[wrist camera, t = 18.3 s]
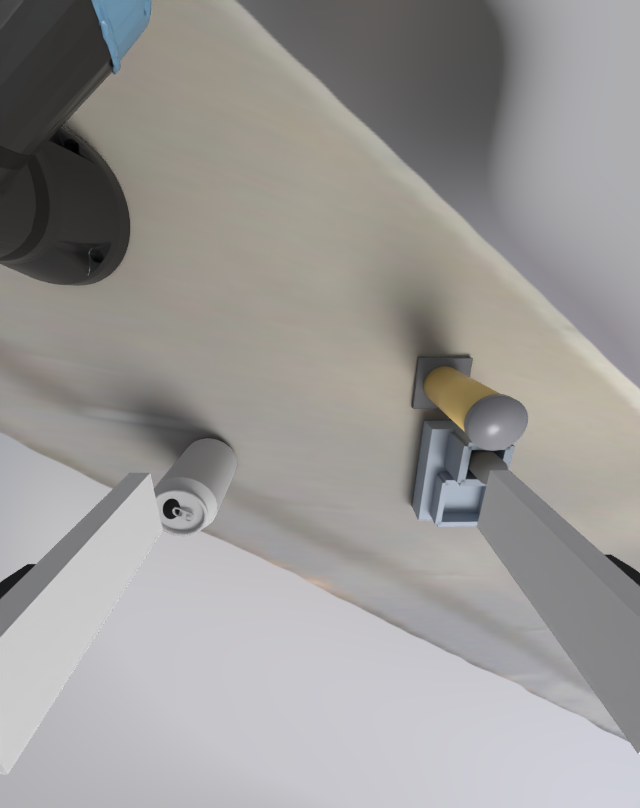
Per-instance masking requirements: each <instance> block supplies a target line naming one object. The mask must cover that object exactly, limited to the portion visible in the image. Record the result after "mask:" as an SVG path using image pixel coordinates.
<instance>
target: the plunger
mask: <svg viewBox="0 0 640 808" xmlns="http://www.w3.org/2000/svg"><path fill="white" fill-rule="evenodd" d="M468 469H469V470H470V471H471V472H472V473H473V474H474V475H475V476H476V478H477V479H478V480H479V481H480V482H481V483H483V484H485V485H487V482H488V477H489V473H490V470H508V466H507V464H506V463H505V462H504V461H503V460H502V459H501V458H499V457H498V456H497V455H496V454H495V453H494V452H493V451H490V450H471V455H470V460H469V465H468Z"/></svg>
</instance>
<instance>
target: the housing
mask: <svg viewBox="0 0 640 808" xmlns="http://www.w3.org/2000/svg"><path fill="white" fill-rule="evenodd" d="M514 447H515V446H514V445H510V446H508V447H506V448H504V449H501V450H495V451H493V452H494V453H495V454H496V455H497V456H498V457H499V458H501V459H502V460H503V461H504V462H505V463H506V464H507V466H508V470H509V466H510V462H511V458H512V454H513V451H514ZM471 450H484V449H481V448H479V447H478V446H476V445H475V444H474V443H473V442H472V441H471V440H470V439H469V438H468V437H467V435H466V433H465V432H464V431H463V430H462V429H461V428H460V427H459V426H458V425H457V424H456V423H455V422H454V421H453V420H424V426H423V433H422V440H421V447H420V455H419V462H418V469H417V476H416V483H415V490H414V497H413V505H412V508H413V510H414V512H415V514H416V516H417V518H418V520H433V521H434V523H435V524H436V525H437V527H451V526H477V523H478V519H479V515H480V511H481V507H482V502H483V498H484V494H485V490H486V486H487V485H485V484H483V483H481V482H480V481H479V480H478V479H477V478H476V476H475V475H474V474H473V473H472V472H471V471H470V470H469V469H468V465H469V460H470V455H471Z"/></svg>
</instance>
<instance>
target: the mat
mask: <svg viewBox="0 0 640 808" xmlns="http://www.w3.org/2000/svg"><path fill="white" fill-rule="evenodd" d="M472 361H473V358H443V357H418V362H417V370H416V378H415V386H414V395H413V403H412V408H413V409H440V408H439V407H437V406H436V405H435V404H434V403H433V402H432V401H431V400H430V399H429V398H428V397H427V396H426V395H425V393H424V389H423V384H424V380H425V378H426V376H427V375H428V374H429V373H430V372H431V371H432V370H434V369H435V368H438V367H441V366H448V367H452V368H454V369H456V370H457V371H459V372H461V373H463V374H465V375H467V376H468V377H470V371H471V366H472Z"/></svg>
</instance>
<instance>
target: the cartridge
mask: <svg viewBox="0 0 640 808" xmlns="http://www.w3.org/2000/svg"><path fill="white" fill-rule="evenodd" d="M423 389H424V393H425V395H426V396H427V397H428V398H429V399H430V400H431V401H432V402H433V403H434V404H435V405H436V406H437V407H439V408H440V409H441V410H442V411H443V412H444V413H445V414H446V415H447V416H448V417H449V418H450V419H451V420H453V421H454V422H455V423H456V424H457V425H458V426H459V427H460V428H461V429H462V430H463V431H464V432H465V433H466V435H467V437H468V438H469V439H470V440H471V441H472V442H473V443H474V444H475V445H476V446H478V447H479V448H481V449H484V450H490V451H495V450H501V449H504V448H506V447H508V446H510V445H512V444H513V443H515V442H516V441H517V440H518V439H519V438H520V437H521V436H522V434H523V433H524V431H525V429H526V426H527V423H528V414H527V411H526V409H525V407H524V406H523V405H522V403H520V402H519V401H517V400H515V399H513V398H512V397H510V396H507V395H503V394H499V393H498V392H496V391H494V390H492V389H490V388H488V387H487V386H485V385H483V384H481V383H479V382H478V381H476V380H474V379H472V378H470V377H468V376H467V375H465V374H463V373H461V372H459V371H457V370H456V369H454V368H452V367H448V366H441V367H438V368H435V369H434V370H432V371H431V372H430V373H429V374H428V375H427V376H426V378H425V380H424V384H423Z"/></svg>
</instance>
